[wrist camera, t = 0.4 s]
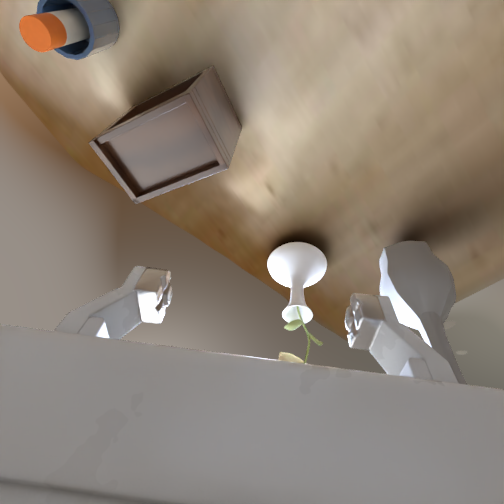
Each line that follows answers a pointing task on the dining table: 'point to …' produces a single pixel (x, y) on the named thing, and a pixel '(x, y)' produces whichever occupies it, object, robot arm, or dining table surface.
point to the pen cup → (98, 19)
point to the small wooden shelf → (171, 138)
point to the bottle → (420, 293)
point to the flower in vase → (297, 284)
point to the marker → (54, 29)
